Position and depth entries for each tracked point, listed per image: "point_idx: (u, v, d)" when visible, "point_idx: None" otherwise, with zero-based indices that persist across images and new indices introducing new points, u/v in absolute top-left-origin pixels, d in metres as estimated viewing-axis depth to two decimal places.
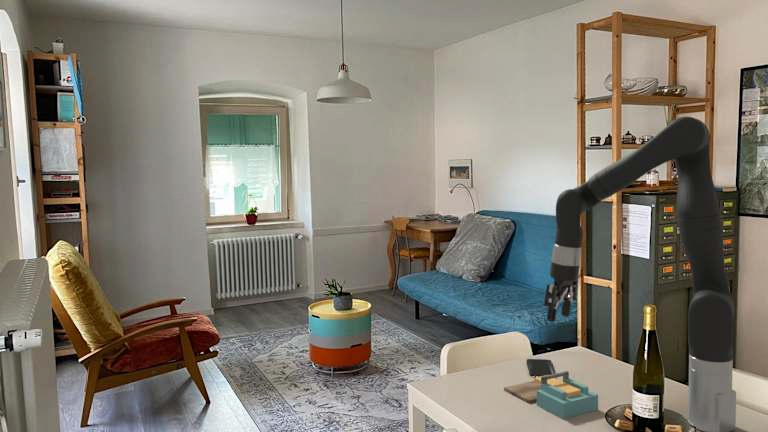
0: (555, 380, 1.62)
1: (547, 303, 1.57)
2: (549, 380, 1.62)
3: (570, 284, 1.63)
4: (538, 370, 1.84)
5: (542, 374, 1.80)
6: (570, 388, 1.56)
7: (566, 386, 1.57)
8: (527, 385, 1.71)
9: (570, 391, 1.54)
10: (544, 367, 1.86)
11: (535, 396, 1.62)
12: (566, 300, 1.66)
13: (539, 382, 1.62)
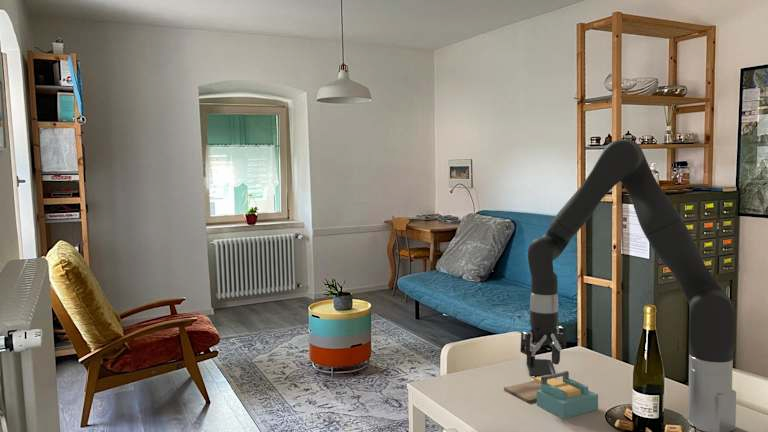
0: (555, 380, 1.62)
1: (522, 350, 1.61)
2: (549, 380, 1.62)
3: (553, 331, 1.63)
4: (538, 370, 1.84)
5: (542, 374, 1.80)
6: (570, 388, 1.56)
7: (566, 386, 1.57)
8: (527, 385, 1.71)
9: (570, 391, 1.54)
10: (544, 367, 1.86)
11: (535, 396, 1.62)
12: (554, 348, 1.65)
13: (539, 382, 1.62)
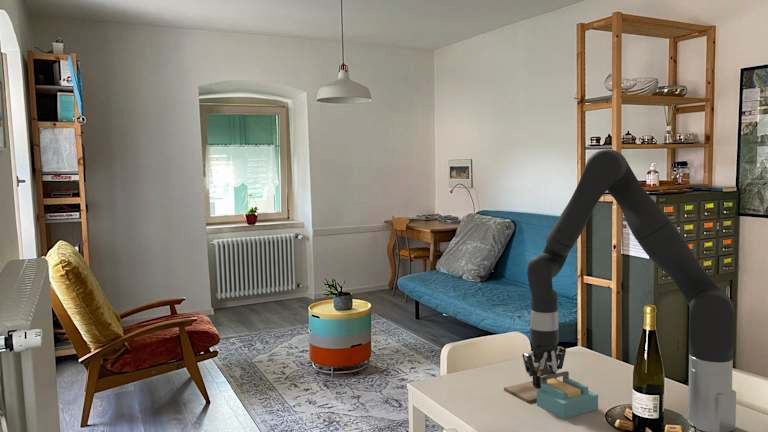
0: (555, 380, 1.62)
1: (528, 370, 1.62)
2: (549, 380, 1.62)
3: (554, 348, 1.63)
4: None
5: (542, 374, 1.80)
6: (570, 388, 1.56)
7: (566, 386, 1.57)
8: (527, 385, 1.71)
9: (570, 391, 1.54)
10: (544, 367, 1.86)
11: (535, 396, 1.62)
12: (550, 369, 1.65)
13: None
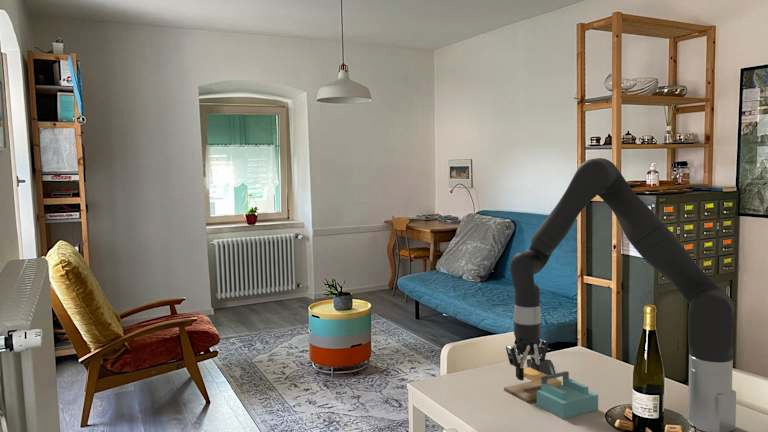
0: (537, 372, 1.68)
1: (511, 362, 1.68)
2: (531, 372, 1.68)
3: (536, 341, 1.70)
4: None
5: None
6: (551, 379, 1.62)
7: None
8: (527, 385, 1.71)
9: (551, 382, 1.60)
10: (544, 367, 1.86)
11: (535, 396, 1.62)
12: (533, 361, 1.71)
13: None
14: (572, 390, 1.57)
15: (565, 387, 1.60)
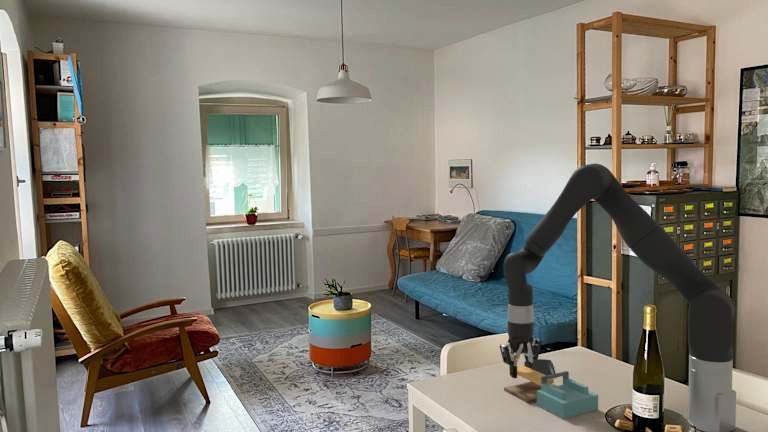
0: (530, 370, 1.71)
1: (505, 360, 1.71)
2: (525, 370, 1.71)
3: (529, 339, 1.72)
4: (538, 370, 1.84)
5: None
6: None
7: (540, 375, 1.66)
8: (527, 385, 1.71)
9: None
10: (544, 367, 1.86)
11: (535, 396, 1.62)
12: (526, 359, 1.74)
13: None
14: (572, 390, 1.57)
15: (565, 387, 1.60)
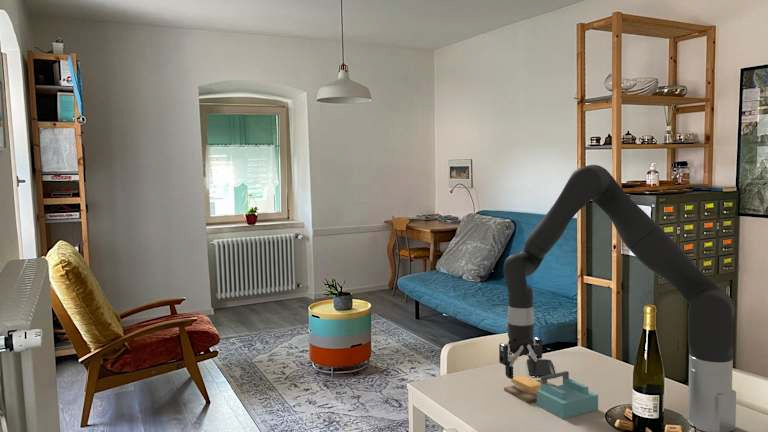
0: (530, 380, 1.71)
1: (501, 361, 1.70)
2: (525, 380, 1.71)
3: (529, 342, 1.73)
4: (538, 370, 1.84)
5: (542, 374, 1.80)
6: None
7: (540, 386, 1.67)
8: None
9: None
10: (544, 367, 1.86)
11: (535, 396, 1.62)
12: (531, 358, 1.75)
13: (515, 382, 1.72)
14: (572, 390, 1.57)
15: (565, 387, 1.60)
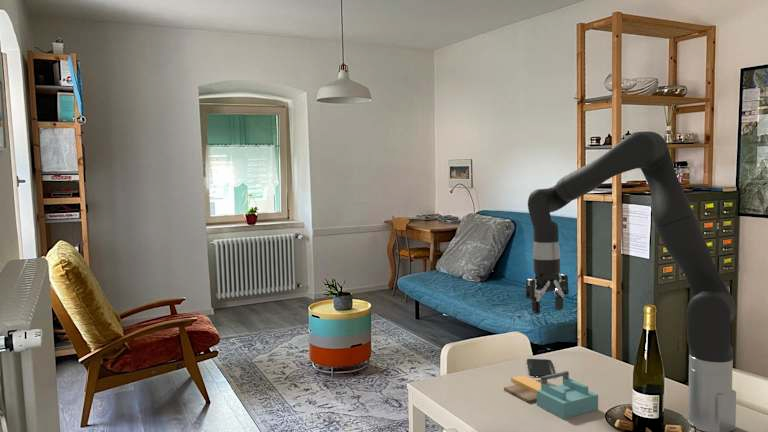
0: (530, 380, 1.71)
1: (528, 296, 1.70)
2: (525, 380, 1.71)
3: (556, 278, 1.72)
4: (538, 370, 1.84)
5: (542, 374, 1.80)
6: None
7: (540, 386, 1.67)
8: None
9: None
10: (544, 367, 1.86)
11: (535, 396, 1.62)
12: (557, 294, 1.75)
13: (515, 382, 1.72)
14: (572, 390, 1.57)
15: (565, 387, 1.60)
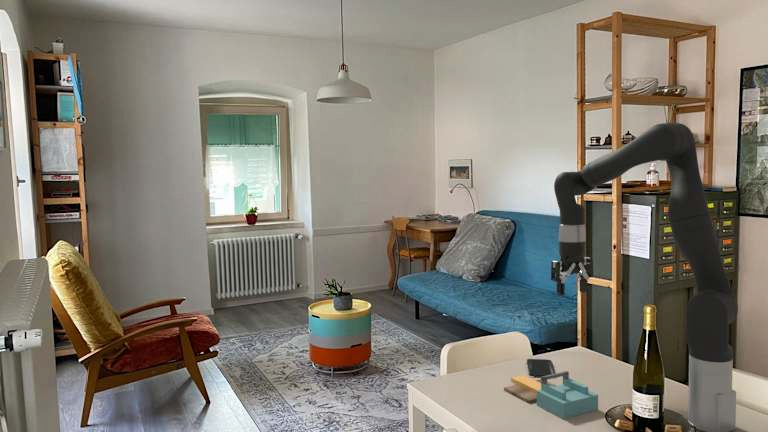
0: (530, 380, 1.71)
1: (553, 278, 1.72)
2: (525, 380, 1.71)
3: (581, 261, 1.74)
4: (538, 370, 1.84)
5: (542, 374, 1.80)
6: None
7: (540, 386, 1.67)
8: None
9: None
10: (544, 367, 1.86)
11: (535, 396, 1.62)
12: (582, 277, 1.76)
13: (515, 382, 1.72)
14: (572, 390, 1.57)
15: (565, 387, 1.60)
